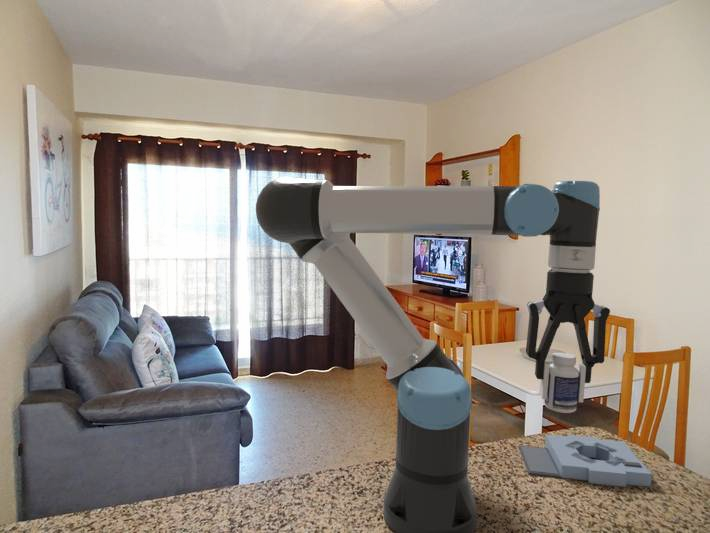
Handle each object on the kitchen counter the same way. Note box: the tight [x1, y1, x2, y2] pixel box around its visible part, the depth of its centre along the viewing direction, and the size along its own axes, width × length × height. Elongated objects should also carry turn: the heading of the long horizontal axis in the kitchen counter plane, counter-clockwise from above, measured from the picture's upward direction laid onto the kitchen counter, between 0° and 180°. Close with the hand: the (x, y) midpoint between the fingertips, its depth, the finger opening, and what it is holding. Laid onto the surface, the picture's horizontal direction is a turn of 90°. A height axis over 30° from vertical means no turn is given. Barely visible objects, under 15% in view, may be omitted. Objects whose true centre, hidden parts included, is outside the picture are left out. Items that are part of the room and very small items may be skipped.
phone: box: [517, 444, 562, 479], centre depth 101 cm, size 12×6×1 cm, turn 170°
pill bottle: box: [544, 352, 579, 414], centre depth 88 cm, size 5×5×10 cm
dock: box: [544, 434, 653, 488], centre depth 100 cm, size 16×16×3 cm
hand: (560, 397), depth 88 cm, fingers closed on pill bottle, 5 cm apart
